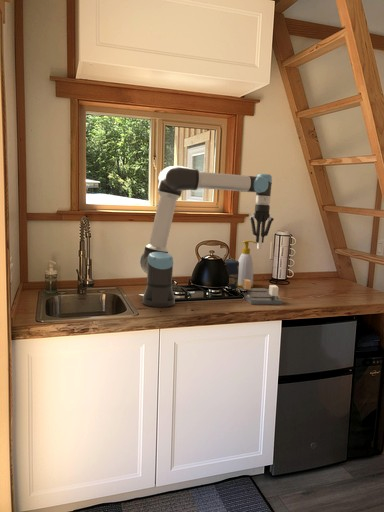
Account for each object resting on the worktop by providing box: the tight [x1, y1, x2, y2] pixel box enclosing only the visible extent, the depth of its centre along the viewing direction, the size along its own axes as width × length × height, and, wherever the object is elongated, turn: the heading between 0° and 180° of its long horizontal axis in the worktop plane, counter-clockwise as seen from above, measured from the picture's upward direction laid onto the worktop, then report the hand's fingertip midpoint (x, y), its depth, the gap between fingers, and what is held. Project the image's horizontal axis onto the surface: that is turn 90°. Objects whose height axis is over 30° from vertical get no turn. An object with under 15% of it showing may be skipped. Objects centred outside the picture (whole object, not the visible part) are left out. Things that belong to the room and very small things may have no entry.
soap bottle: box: [237, 240, 257, 288], centre depth 251 cm, size 11×12×26 cm
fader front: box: [268, 284, 279, 297], centre depth 218 cm, size 3×5×5 cm, turn 9°
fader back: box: [242, 279, 252, 290], centre depth 229 cm, size 3×5×5 cm, turn 9°
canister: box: [224, 258, 239, 289], centre depth 234 cm, size 10×10×18 cm
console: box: [237, 287, 284, 306], centre depth 225 cm, size 16×26×3 cm, turn 9°
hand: (259, 248), depth 230 cm, fingers closed
